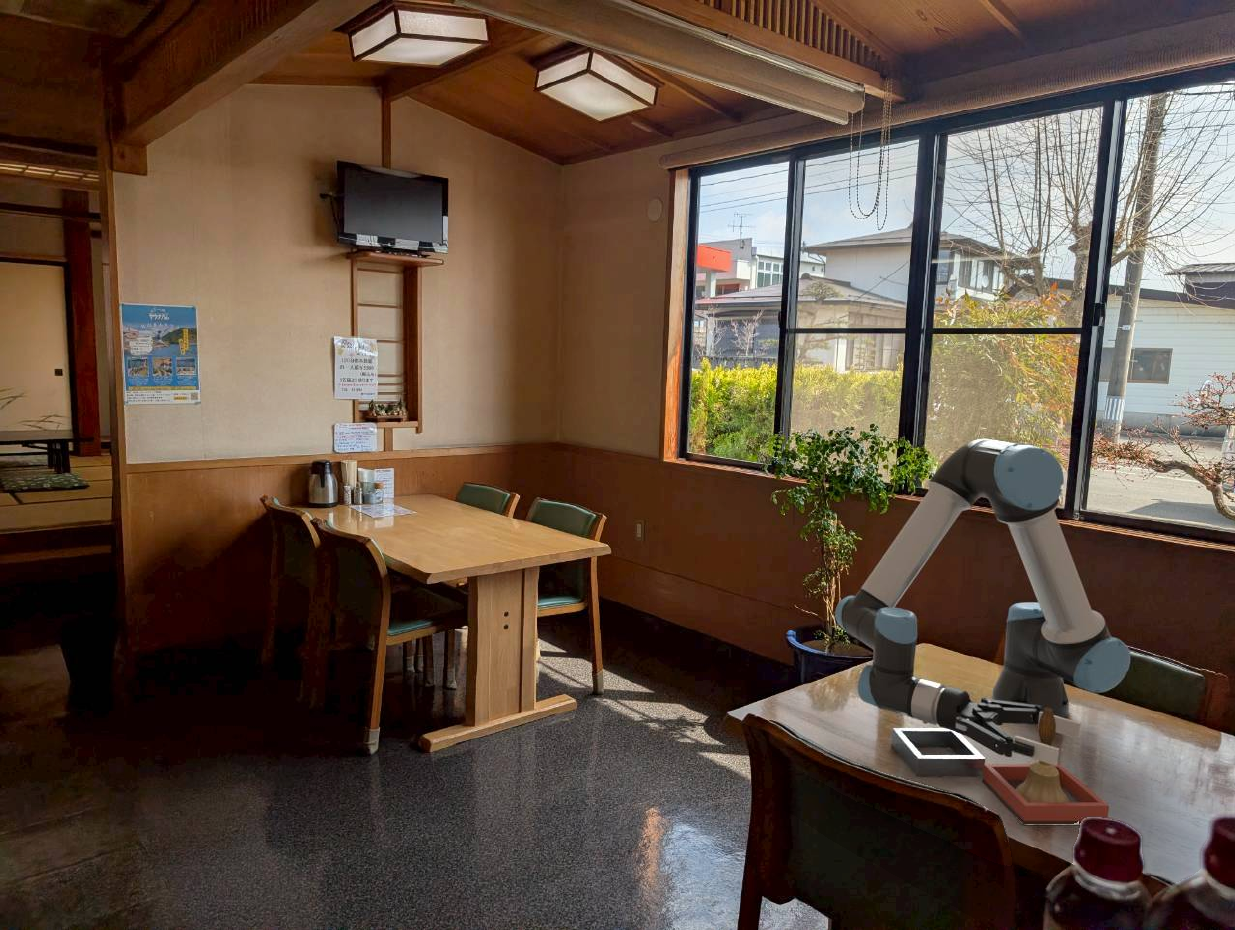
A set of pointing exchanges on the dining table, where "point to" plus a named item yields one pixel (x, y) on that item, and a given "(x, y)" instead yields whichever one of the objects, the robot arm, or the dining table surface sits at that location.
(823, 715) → the dining table surface
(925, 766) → the grey square open box
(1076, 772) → the dining table surface
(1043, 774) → the hand bell
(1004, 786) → the tray
